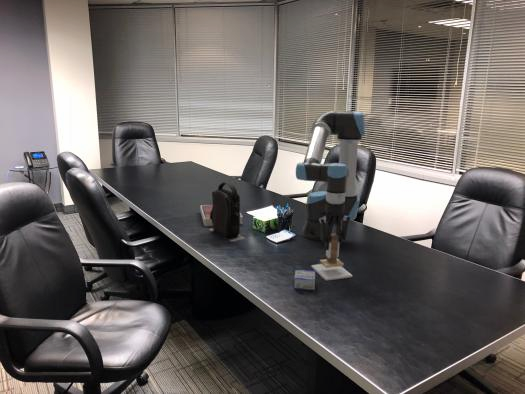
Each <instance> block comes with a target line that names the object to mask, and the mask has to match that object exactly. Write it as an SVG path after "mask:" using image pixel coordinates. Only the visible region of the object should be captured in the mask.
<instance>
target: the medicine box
mask: <svg viewBox="0 0 525 394" xmlns="http://www.w3.org/2000/svg"><path fill="white" fill-rule="evenodd" d="M294 273H295V274H294V281H293V289H295V290H296V289H297V290H307V291H308V290H310V291H315V290H316V288H315V287H316V271H315V270H305V269H295V272H294Z"/></svg>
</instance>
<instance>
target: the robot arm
mask: <svg viewBox="0 0 525 394" xmlns="http://www.w3.org/2000/svg"><path fill="white" fill-rule="evenodd" d="M365 126H366V124H365V116H364V113H363V112H362V111H354V110H351V111H349V110H348V111H347V110H330V111H326V112H324V113H322V114H320V116H318V117H317V118H316V119H315V120H314V122H313V123H312V126H311V129H310V133H311V135H310V140H309V143H308V145H307V149H306V152H305V157H304V159H303V161H302V162H298V163H297V164H296V167H295V178H296V180H300V181H305V182H322V183H326V191H325V190H320V191H314V192H310V193H309V194H307V198H306V203H305V204H306V213H305V215H306V216H305V217H306V218H305V223H304V225H303V228H302V231H301V232H302V234H301V235H302V237H304V238H306V239H309V240H314V241H322V242H323V243H324V249H325V257H326V258H327V257H328V258H330V257H331V243H330V238H331V234H333V227H334V225H335V234H337V235H338V250H337V258H339V254H340V249H341V248H342V243H343V241H345V240H346V239H347V233H348V226H349V225H348V224H349V221H351V220H355V219H356V218H357V215H358V214H357V213H358V210H359V205H360V201H361V197H359V196H358V193H357V191H356V188H355V187H356V177H357V176H356V174H357V161H358V149H359V148H358V147H359V145H358V144H359V143H360V142H361V141H362V138H363V137H365V135H366V134H365V133H366V128H365ZM330 136H337V139H336V140H337V141H338V142H339V157H338V162H333V163H329V164H327V163H325V164H324V163H322V160H323V157H324V153H325V149H326V145H327V142H328V141H327V140H328V138H329V137H330Z"/></svg>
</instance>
